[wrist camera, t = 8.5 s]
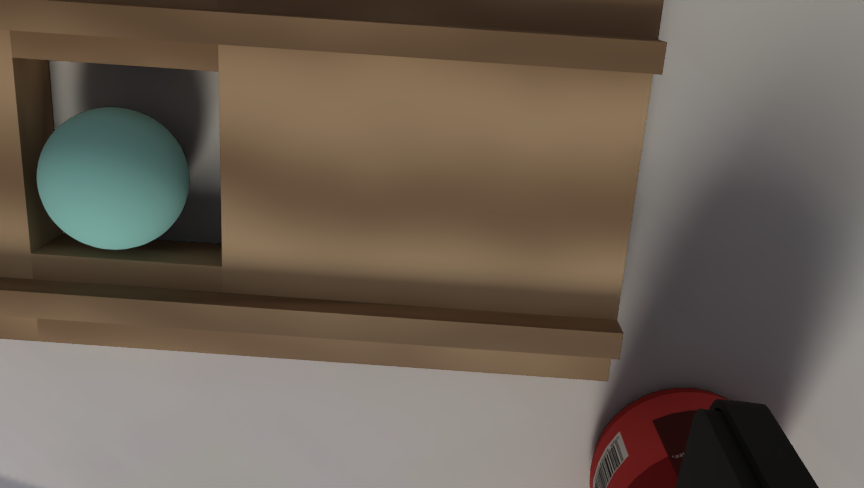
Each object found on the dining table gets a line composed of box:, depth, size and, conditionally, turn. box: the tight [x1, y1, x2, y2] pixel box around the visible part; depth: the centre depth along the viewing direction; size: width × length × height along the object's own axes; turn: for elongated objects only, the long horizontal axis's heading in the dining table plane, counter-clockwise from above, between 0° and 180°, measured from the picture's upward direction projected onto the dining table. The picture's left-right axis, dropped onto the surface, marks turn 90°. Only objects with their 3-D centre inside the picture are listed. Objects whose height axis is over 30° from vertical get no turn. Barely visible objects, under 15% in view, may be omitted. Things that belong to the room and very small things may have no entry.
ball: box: [37, 107, 189, 250], centre depth 29 cm, size 5×5×5 cm
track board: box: [0, 0, 667, 381], centre depth 29 cm, size 14×26×4 cm, turn 86°
